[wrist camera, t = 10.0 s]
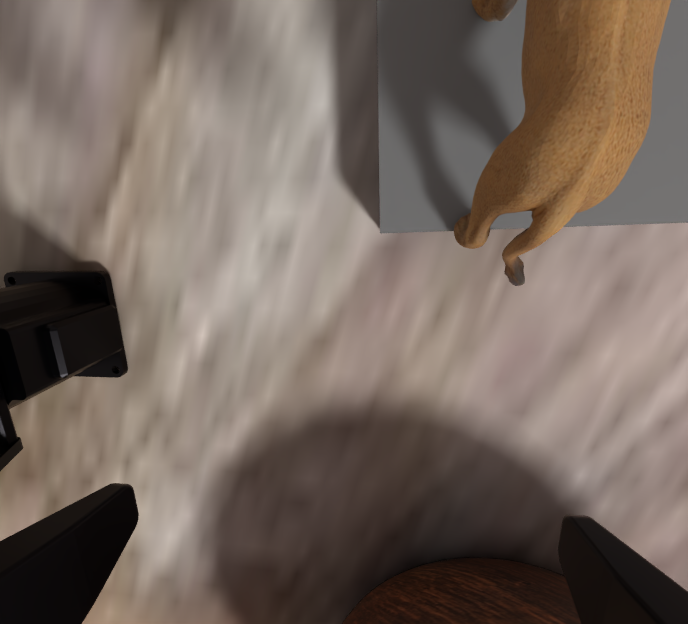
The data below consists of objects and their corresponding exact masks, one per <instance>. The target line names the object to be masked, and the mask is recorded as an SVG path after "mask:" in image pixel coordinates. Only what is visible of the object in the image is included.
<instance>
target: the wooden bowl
mask: <svg viewBox="0 0 688 624" xmlns="http://www.w3.org/2000/svg"><path fill="white" fill-rule="evenodd" d="M342 624H581V622H580V619H579V616H578V613H577V610H576V607H575V604H574V601H573V598H572V596H571V593H570V590H569V587H568V584H567V581H566V578H565V576H562V575H560V574H557V573H554V572H552V571H549V570H546V569H543V568H539V567H536V566H532V565H528V564H524V563H519V562H515V561H509V560H502V559H492V558H459V559H449V560H443V561H437V562H433V563H429V564H425V565H421V566H419V567H416V568H413V569H410V570H408V571H405V572H403V573H401V574H399V575H396V576H394V577H393V578H391V579H389V580H387V581H385V582H384V583H382V584H380V585H379V586H378V587H376V588H375V589H373V590H372V591H371V592H370V593H369V594H367V595H366V596H365V597H364V598H363V599H362V600H361V601H360V602H359V603H358V604H357V606H356V607H355V608H354V609H353V610H352V612H351V613H350V614H349V615H348V616H347V618H346V619H345V620H344V622H343V623H342Z"/></svg>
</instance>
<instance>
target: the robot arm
mask: <svg viewBox="0 0 688 624" xmlns="http://www.w3.org/2000/svg"><path fill="white" fill-rule="evenodd" d="M99 278H101V281H102V282H100V281H99ZM15 280H16V281H15ZM4 282H5V285H6V288H1V289H0V471H1V470H2V469H3V468H4V467H5V466H6V465H7V464H8V463H9V462H10V461H11V460H12V459H13V458H14V457H15V456H16V455H17V454H18V453H19V452H20V451H21V450H22V449H23V445H22V442H21V438H20V437H17V434H16V431H15V427H14V424H13V421H12V417H11V414H10V411H9V409H11V408H12V407H14V406H16V405H18V404H20V403H22V402H24V401H26V400H28V399H30V398H32V397H34V396H36V395H38V394H40V393H42V392H43V391H45V390H47V389H49V388H51V387H53V386H55V385H57V384H59V383H61V382H63V381H65V380H67V379H69V378H71V377H73V376H86V377H121V376H122V375H124V374H125V373H127V371H128V366H127V361H126V356H125V351H124V346H123V341H122V336H121V330H120V325H119V320H118V315H117V310H116V305H115V299H114V294H113V289H112V284H111V279H110V276H109V275H108V274H107V273H106V272H104V271H16V272H9V273H6V274H5V276H4ZM116 366H117V367H118V368H119V370H118V369H117V367H116ZM138 515H139V514H138V508H137V504H136V499H135V494H134V490H133V487H132V486H131V485H129V484H119V483H113V484H110V485H107V486H106V487H104V488H102V489H100V490H98V491H96V492H94V493H92V494H90V495H88V496H86V497H84V498H83V499H81V500H79V501H77V502H75V503H73V504H71V505H69V506H67V507H65V508H63V509H61V510H59V511H58V512H56V513H54V514H52V515H50V516H48V517H46V518H44V519H42V520H40V521H38V522H36V523H35V524H33V525H31V526H29V527H27V528H25V529H23V530H21V531H19V532H17V533H15V534H13V535H12V536H10V537H8V538H6V539H4V540H2V541H0V624H82V622H83V621H84V619H85V618H86V616H87V614H88V613H89V611H90V609H91V608H92V606H93V605H94V603H95V601H96V599H97V597H98V596H99V594H100V592H101V590H102V589H103V587H104V585H105V583H106V581H107V579H108V577H109V576H110V574H111V572H112V570H113V568H114V566H115V564H116V563H117V561H118V559H119V557H120V555H121V553H122V552H123V550H124V548H125V546H126V544H127V542H128V540H129V539H130V537H131V535H132V533H133V531H134V529H135V527H136V525H137V522H138ZM558 555H559V560H560V563H561V566H562V569H563V572H564V575H565V578H566V581H567V584H568V587H569V590H570V593H571V596H572V598H573V601H574V604H575V607H576V610H577V613H578V616H579V619H580V622H581V624H688V591H686V590H685V589H684V588H682V587H681V586H680V585H679V584H677V583H676V582H675V581H673V580H672V579H671V578H669V577H668V576H667V575H665V574H664V573H663V572H661V571H660V570H659V569H658V568H656V567H655V566H654V565H652V564H651V563H650V562H648V561H647V560H646V559H644V558H643V557H642V556H640V555H639V554H638V553H637V552H635V551H634V550H633V549H631V548H630V547H629V546H627V545H626V544H625V543H623V542H622V541H621V540H620V539H618V538H617V537H616V536H614V535H613V534H612V533H610V532H609V531H608V530H606V529H605V528H604V527H602V526H601V525H600V524H599V523H597V522H596V521H595V520H593V519H592V518H590V517H588V516H581V515H566V516H565V517H564V518H563V522H562V528H561V533H560V539H559V545H558Z"/></svg>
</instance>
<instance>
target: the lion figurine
mask: <svg viewBox="0 0 688 624" xmlns="http://www.w3.org/2000/svg"><path fill="white" fill-rule="evenodd" d="M517 1H518V0H472V5H473V7H474V9H475V11H476V12H477V14H478V15H479V16H480V17H481V18H482V19H484V20H485V21H488V22H493V21H502V20H504V19H505V18H506V17H507V16H508V15H509V14H510V12H511V11H512V9H513V7H514V6H515V4H516V3H517ZM670 2H671V0H527V4H526V18H525V31H524V40H523V48H522V67H521V75H522V87H523V95H524V99H525V113H524V117H523V119H522V121H521V123H520V124H519V125H518V127H517V128H516V129H515V130H513V131H512V132H511V133H510V134H509V135H508V136H507V137H506V138H505V139H504V140H503V141H502V142H501V143H500V144H499V145H498V146H497V148H496V149H495V151H494V152H493V154H492V155H491V157H490V159H489V161H488V163H487V165H486V166H485V168H484V169H483V171H482V173H481V176H480V178H479V180H478V183H477V185H476V189H475V192H474V196H473V202H472V208H471V213H468V214H467V215H465V216H463V217H461V218H460V219H459V220H458V221H457V222H456V224H455V226H454V235H455V238H456V241H457V242H458V243H459V244H460V245H462V246H463V247H466V248H471V249H475V248H479V247H481V246H483V245H484V243H485V242H486V240H487V238H488V236H489V233H490V226H491V224H492V223H493V222H494V221H495V219H496V218H497V217H498V216H500V215H502V214H506V213H516V212H523V211H532V215H531V216H532V219H533V221H532V223H531V225H530V227H529V228H527V229H526V230H525V231H523V232H522V233H520V234H519V235H518V236H516V237H515V238H514V239H513V240H512V241H511V242H510V243H509V244H508V245H507V247H506V248H505V249H504V251H503V254H502V257H503V261H504V262H505V265H506V266H505V274H506V275H507V276H508V278H509V281H510V282H511V283H512V284H513V285H515V286H519V285H523V284H524V282H525V277H524V272H523V268H524V265H523V262H522V261H521V259H520V258H519V257H518V256H519V255H521V254H523V253H525V252H527V251H529V250H532V249H534V248H535V247H537V246H539V245H540V244H542V243H543V242H545V241H546V240H547V239H548V238H550V237H551V236H552V235H554V234H555V233H557V232H558V231H559V230H560V229H561V228H562V227H563V226H564V225H566V224H567V223H568V222H569V220H570V219H571V218H572V217H573V216H574V215H575V213H579V212H582V211H585V210H588V209H590V208H592V207H594V206H595V205H597V204H599V203H600V202H601V201H603V200H604V199H606V198H607V197H608V196H609V195H610V194H611V193H612V192H613V191H614V190H615V189H616V187H617V186H618V185H619V183H620V182H621V180H622V179H623V177H624V175H625V174H626V172H627V170H628V168H629V166H630V164H631V162H632V161H633V159H634V157H635V155H636V154H637V152H638V150H639V148H640V147H641V145H642V143H643V141H644V139H645V136H646V133H647V130H648V127H649V124H650V118H651V104H652V84H653V70H654V64H655V59H656V54H657V50H658V47H659V44H660V40H661V36H662V32H663V28H664V24H665V20H666V17H667V13H668V10H669V6H670Z"/></svg>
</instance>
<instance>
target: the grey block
mask: <svg viewBox="0 0 688 624" xmlns="http://www.w3.org/2000/svg"><path fill="white" fill-rule="evenodd" d="M526 4H527V0H518V1H517V3H516V4H515V6H514V7H513V9H512V11H511V12H510V14H509V15H508V16H507V17H506V18H505V19H504V20H502V21H493V22H488V21H485V20H484V19H482V18H481V17H480V16H479V15H478V14H477V12H476V11H475V9H474V7H473V5H472V0H377V50H378V124H379V198H380V233H404V232H433V231H454V226H455V224H456V222H457V221H458V220H459V219H460V218H461V217H463V216H465V215H467V214H468V213H471V208H472V202H473V196H474V192H475V189H476V185H477V183H478V180H479V178H480V176H481V173H482V171H483V169H484V168H485V166H486V165H487V163H488V161H489V159H490V157H491V155H492V154H493V152H494V151H495V149H496V148H497V146H498V145H499V144H500V143H501V142H502V141H503V140H504V139H505V138H506V137H507V136H508V135H509V134H510V133H511V132H512V131H513V130H515V129H516V128H517V127H518V125H519V124H520V123H521V121H522V119H523V117H524V113H525V99H524V95H523V87H522V75H521V67H522V48H523V40H524V31H525V18H526ZM531 215H532V211H523V212H516V213H506V214H502V215H500V216H498V217H497V218H496V219H495V221H494V222H493V223H492V224H491V226H490V229H518V228H529V227H530V225H531V223H532V221H533V219H532V216H531ZM660 223H688V0H671V2H670V6H669V10H668V13H667V17H666V20H665V24H664V28H663V32H662V36H661V40H660V44H659V47H658V50H657V54H656V59H655V64H654V70H653V84H652V104H651V118H650V124H649V127H648V130H647V133H646V136H645V139H644V141H643V143H642V145H641V147H640V148H639V150H638V152H637V154H636V155H635V157H634V159H633V161H632V162H631V164H630V166H629V168H628V170H627V172H626V174H625V175H624V177H623V179H622V180H621V182H620V183H619V185H618V186H617V187H616V189H615V190H614V191H613V192H612V193H611V194H610V195H609V196H608V197H607V198H606V199H604V200H603V201H601V202H600V203H599V204H597V205H595V206H594V207H592V208H590V209H588V210H585V211H582V212H579V213H575V215H574V216H573V217H572V218H571V219H570V220H569V222H568V223H567V224H566V225H564V226H563V227H575V226H603V225H632V224H660Z"/></svg>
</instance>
